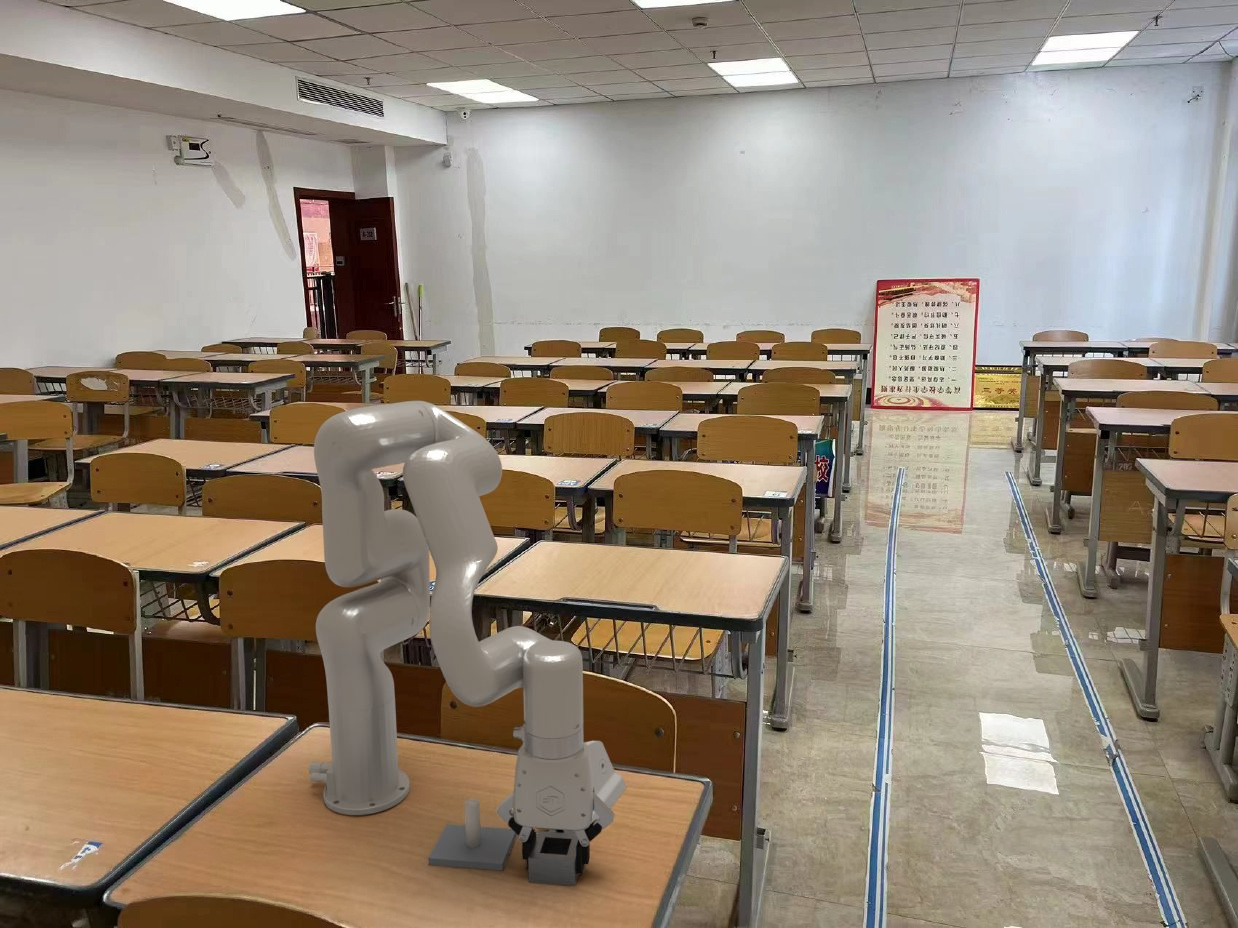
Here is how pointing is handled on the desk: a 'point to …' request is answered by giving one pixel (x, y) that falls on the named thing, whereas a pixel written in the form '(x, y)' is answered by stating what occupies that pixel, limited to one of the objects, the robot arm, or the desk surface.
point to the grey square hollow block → (553, 859)
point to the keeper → (473, 843)
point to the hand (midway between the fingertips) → (556, 864)
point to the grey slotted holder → (602, 779)
